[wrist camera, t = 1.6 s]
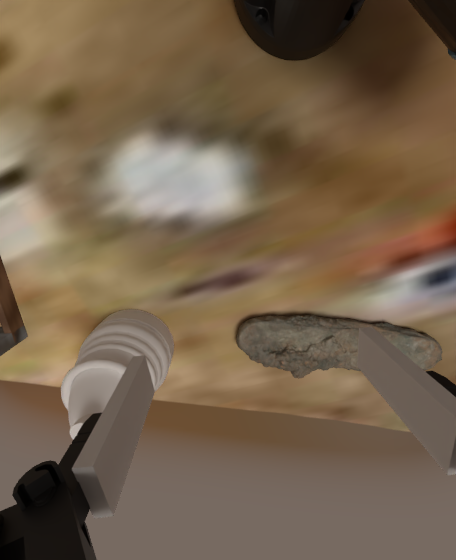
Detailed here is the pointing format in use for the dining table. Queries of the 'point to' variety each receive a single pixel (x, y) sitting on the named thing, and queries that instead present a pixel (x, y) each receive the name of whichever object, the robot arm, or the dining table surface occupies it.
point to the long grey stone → (324, 343)
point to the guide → (9, 316)
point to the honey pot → (114, 361)
